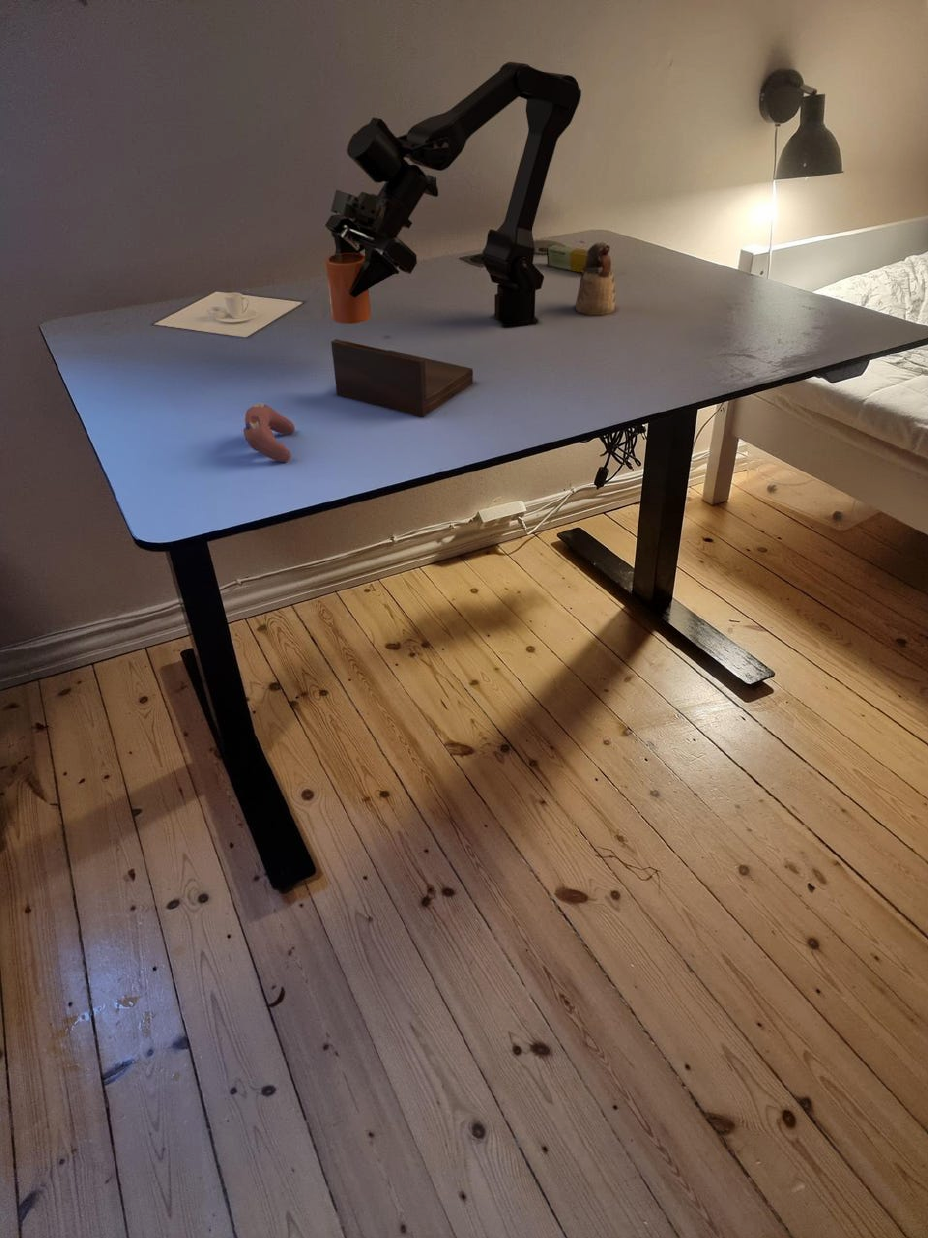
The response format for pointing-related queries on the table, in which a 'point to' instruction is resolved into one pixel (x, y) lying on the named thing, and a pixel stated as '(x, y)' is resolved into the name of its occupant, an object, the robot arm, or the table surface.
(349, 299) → the cup
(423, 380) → the dark brown wooden piece
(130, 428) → the table surface
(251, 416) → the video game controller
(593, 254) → the figurine
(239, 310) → the teacup and saucer
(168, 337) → the table surface
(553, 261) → the medication box
